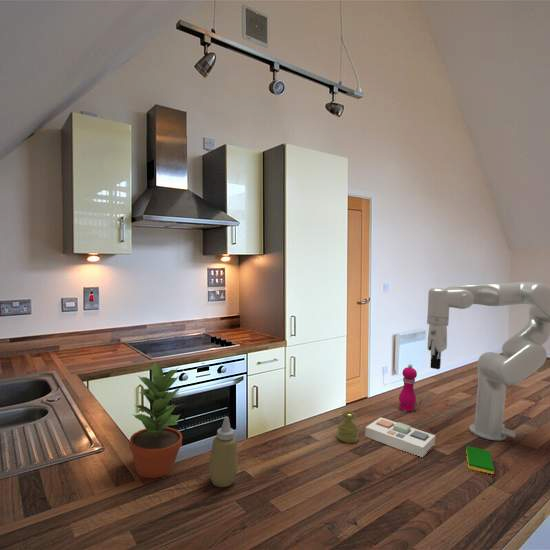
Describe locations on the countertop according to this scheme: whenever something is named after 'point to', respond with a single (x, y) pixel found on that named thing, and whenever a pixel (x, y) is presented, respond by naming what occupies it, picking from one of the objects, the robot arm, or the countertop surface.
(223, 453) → the squeeze bottle
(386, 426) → the terracotta key
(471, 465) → the dish sponge
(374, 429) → the key pad
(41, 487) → the countertop surface
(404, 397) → the pepper mill
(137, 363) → the countertop surface
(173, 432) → the potted plant
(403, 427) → the sage key
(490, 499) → the countertop surface
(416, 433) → the charcoal key
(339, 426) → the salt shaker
